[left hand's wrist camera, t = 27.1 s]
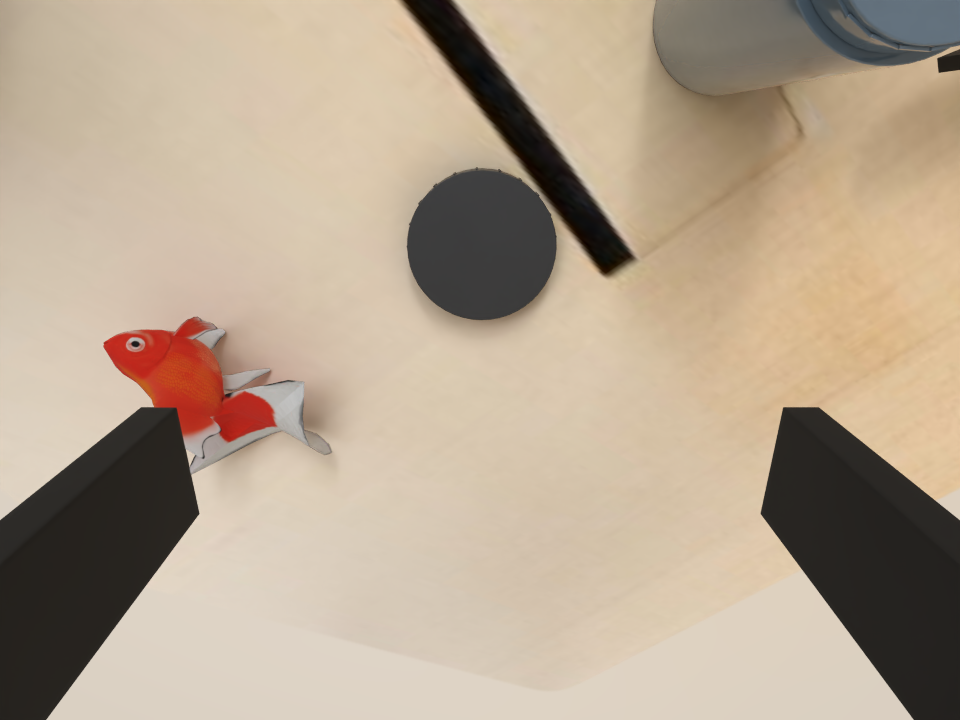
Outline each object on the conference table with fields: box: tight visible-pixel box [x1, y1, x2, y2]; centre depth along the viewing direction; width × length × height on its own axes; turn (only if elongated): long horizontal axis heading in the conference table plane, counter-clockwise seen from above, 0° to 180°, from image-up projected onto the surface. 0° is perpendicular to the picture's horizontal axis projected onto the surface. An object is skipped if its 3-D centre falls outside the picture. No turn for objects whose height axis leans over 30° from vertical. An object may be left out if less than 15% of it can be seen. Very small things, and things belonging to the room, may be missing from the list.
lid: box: [407, 167, 556, 320], centre depth 38 cm, size 10×10×2 cm
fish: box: [104, 317, 332, 475], centre depth 39 cm, size 11×16×10 cm
